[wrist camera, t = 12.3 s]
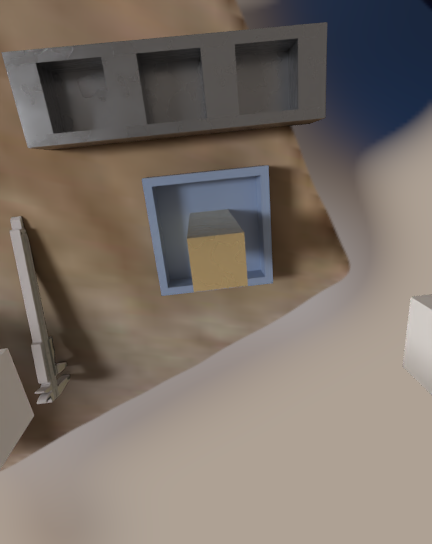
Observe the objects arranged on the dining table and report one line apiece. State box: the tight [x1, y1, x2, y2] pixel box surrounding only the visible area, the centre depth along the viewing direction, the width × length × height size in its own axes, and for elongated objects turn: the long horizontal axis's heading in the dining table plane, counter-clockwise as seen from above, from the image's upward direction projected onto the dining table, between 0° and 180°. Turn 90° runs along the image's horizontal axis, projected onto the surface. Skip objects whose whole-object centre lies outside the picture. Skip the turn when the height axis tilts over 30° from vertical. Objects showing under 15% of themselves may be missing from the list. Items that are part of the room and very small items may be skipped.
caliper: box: [10, 216, 70, 404], centre depth 33 cm, size 20×1×6 cm, turn 6°
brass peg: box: [187, 209, 248, 292], centre depth 28 cm, size 4×4×12 cm
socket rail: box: [2, 22, 327, 150], centre depth 28 cm, size 26×7×4 cm, turn 96°
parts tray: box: [142, 165, 273, 296], centre depth 33 cm, size 12×12×3 cm
